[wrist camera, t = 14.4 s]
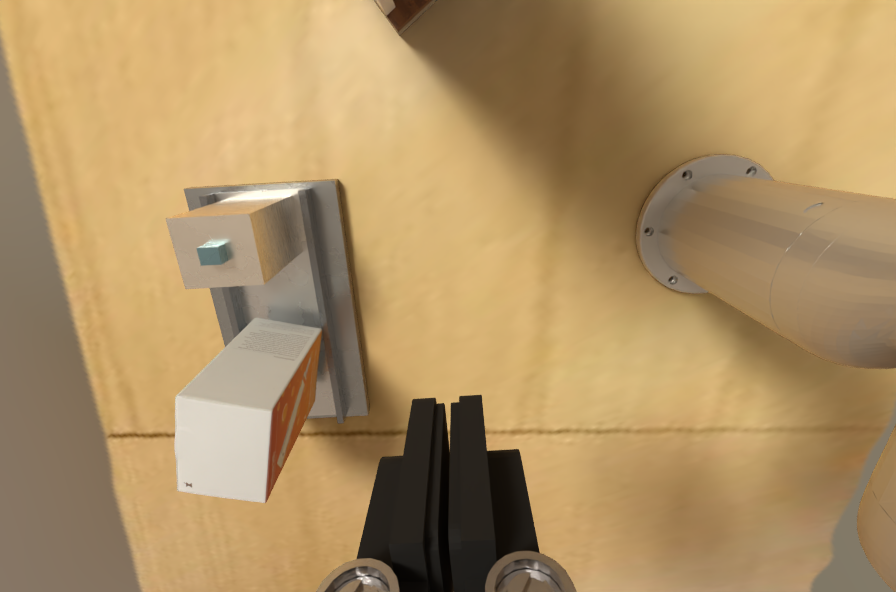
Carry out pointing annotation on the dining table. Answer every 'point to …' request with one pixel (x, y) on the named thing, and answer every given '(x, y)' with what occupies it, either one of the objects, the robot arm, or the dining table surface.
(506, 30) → the dining table surface
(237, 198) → the rail board
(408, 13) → the tall banded cabinet
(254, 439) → the small box
